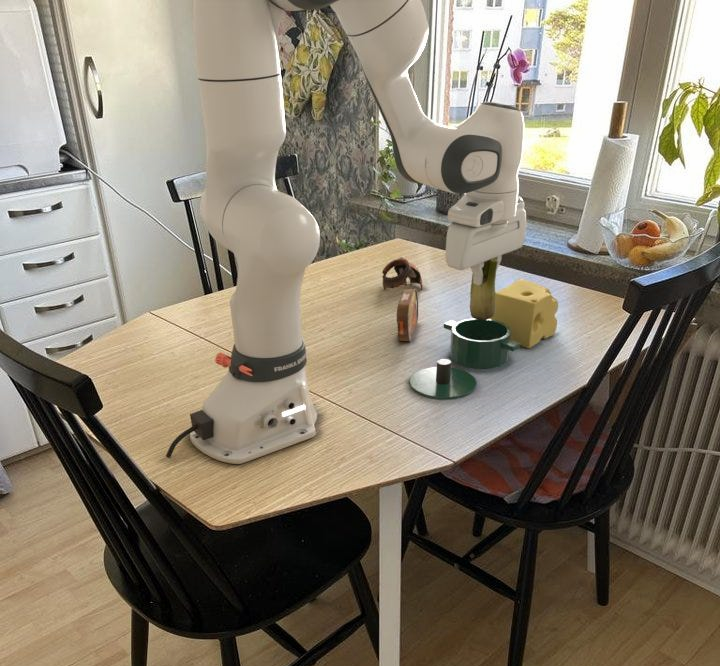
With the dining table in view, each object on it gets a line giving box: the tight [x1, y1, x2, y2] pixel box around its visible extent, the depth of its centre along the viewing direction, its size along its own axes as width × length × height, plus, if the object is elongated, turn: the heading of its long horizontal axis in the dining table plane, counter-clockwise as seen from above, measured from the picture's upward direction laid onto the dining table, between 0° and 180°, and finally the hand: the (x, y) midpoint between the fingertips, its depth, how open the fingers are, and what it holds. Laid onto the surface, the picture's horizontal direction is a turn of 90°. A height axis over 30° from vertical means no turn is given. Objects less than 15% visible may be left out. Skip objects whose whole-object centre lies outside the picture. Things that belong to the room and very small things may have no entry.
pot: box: [443, 317, 521, 370], centre depth 142 cm, size 11×17×6 cm
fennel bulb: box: [469, 259, 498, 320], centre depth 135 cm, size 6×5×12 cm
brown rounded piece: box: [381, 257, 424, 291], centre depth 176 cm, size 12×10×8 cm
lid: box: [409, 358, 477, 400], centre depth 133 cm, size 12×12×5 cm
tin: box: [396, 288, 419, 343], centre depth 152 cm, size 15×3×8 cm, turn 168°
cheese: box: [490, 278, 559, 349], centre depth 150 cm, size 10×11×10 cm
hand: (484, 281), depth 134 cm, fingers closed on fennel bulb
